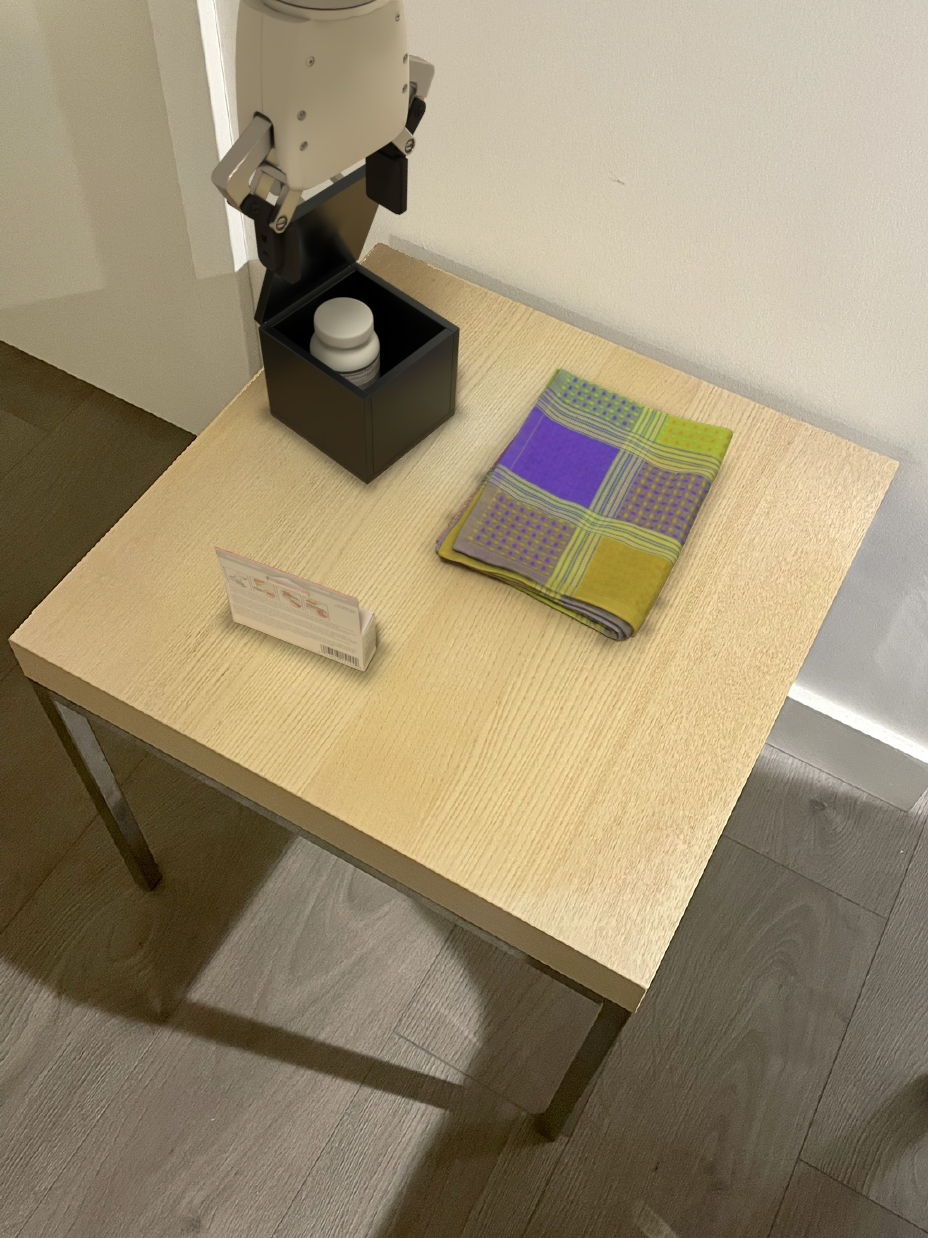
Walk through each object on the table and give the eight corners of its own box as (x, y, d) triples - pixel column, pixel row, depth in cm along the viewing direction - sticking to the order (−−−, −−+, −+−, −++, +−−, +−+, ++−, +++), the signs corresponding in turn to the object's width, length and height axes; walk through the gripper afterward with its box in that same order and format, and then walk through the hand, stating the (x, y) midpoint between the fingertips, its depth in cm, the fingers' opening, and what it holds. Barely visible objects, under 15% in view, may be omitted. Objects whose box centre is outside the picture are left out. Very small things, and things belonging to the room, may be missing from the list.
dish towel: (738, 450, 93) (747, 428, 91) (625, 658, 81) (631, 639, 79) (558, 375, 97) (561, 352, 95) (424, 563, 85) (425, 542, 83)
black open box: (455, 413, 94) (460, 327, 86) (367, 484, 89) (363, 400, 81) (359, 349, 98) (355, 260, 90) (270, 414, 93) (257, 326, 85)
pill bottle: (304, 393, 93) (295, 303, 85) (364, 374, 95) (361, 284, 87) (330, 438, 91) (323, 349, 82) (392, 417, 92) (391, 328, 84)
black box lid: (397, 155, 78) (347, 102, 78) (286, 225, 73) (233, 168, 73) (358, 259, 89) (314, 213, 89) (260, 325, 84) (214, 277, 84)
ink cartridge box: (246, 599, 82) (229, 519, 74) (378, 649, 81) (375, 573, 72) (230, 623, 81) (211, 546, 73) (364, 675, 79) (359, 601, 71)
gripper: (384, -121, 60) (383, 157, 75) (142, -17, 52) (193, 272, 67) (486, -73, 58) (465, 205, 72) (248, 44, 50) (278, 330, 64)
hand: (335, 237), depth 69 cm, fingers open, 9 cm apart
